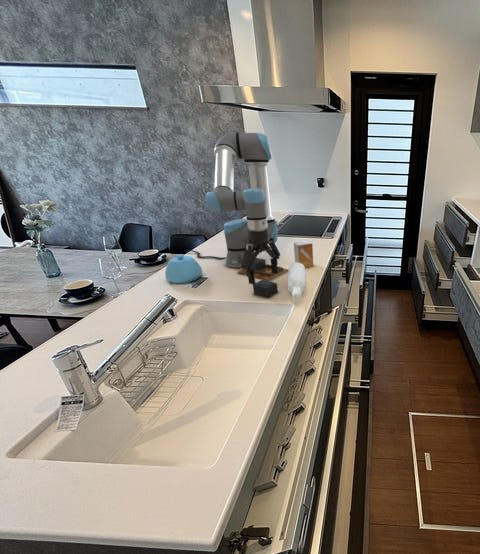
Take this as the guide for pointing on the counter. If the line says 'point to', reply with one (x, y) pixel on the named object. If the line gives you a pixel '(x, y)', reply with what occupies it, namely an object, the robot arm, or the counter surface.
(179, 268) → the sugar bowl
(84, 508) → the counter surface
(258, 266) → the board
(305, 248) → the small box
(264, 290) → the black rectangular block
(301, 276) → the bottle
